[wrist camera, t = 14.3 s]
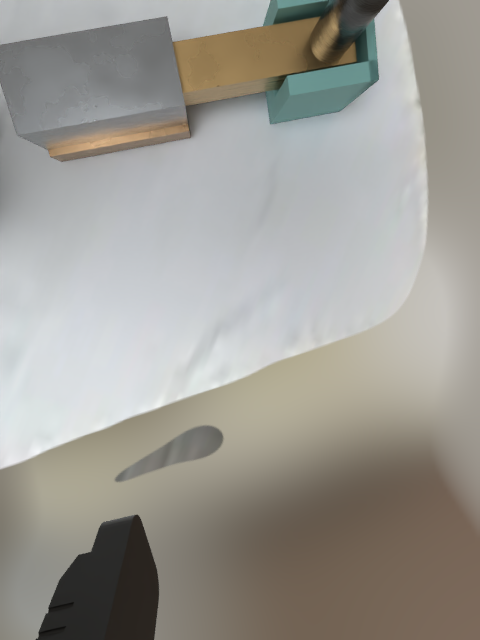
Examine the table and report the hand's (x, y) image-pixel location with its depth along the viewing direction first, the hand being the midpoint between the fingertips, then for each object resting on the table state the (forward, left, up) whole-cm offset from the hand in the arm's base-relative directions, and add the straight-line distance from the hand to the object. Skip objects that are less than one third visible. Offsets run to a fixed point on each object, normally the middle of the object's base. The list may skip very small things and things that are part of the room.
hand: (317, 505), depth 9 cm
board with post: (-5, +17, -25) cm, 30 cm away
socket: (0, +19, -28) cm, 34 cm away
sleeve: (-14, +11, -28) cm, 33 cm away
